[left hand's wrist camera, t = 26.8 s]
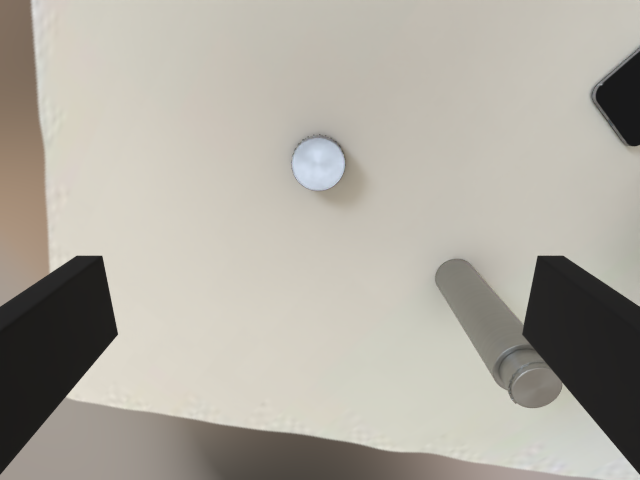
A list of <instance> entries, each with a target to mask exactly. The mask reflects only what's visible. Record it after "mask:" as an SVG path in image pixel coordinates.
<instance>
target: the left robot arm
mask: <svg viewBox="0 0 640 480" xmlns="http://www.w3.org/2000/svg"><path fill="white" fill-rule="evenodd" d="M117 335H118V332H117V327H116V322H115V317H114V312H113V307H112V302H111V297H110V292H109V287H108V282H107V277H106V272H105V267H104V262H103V257H102V256H76V257H74V258H73V259H71V260H70V261H68V262H67V263H65V264H64V265H62V266H61V267H59V268H58V269H56V270H55V271H53V272H52V273H50V274H49V275H47V276H46V277H44V278H43V279H41V280H40V281H38V282H37V283H35V284H34V285H32V286H31V287H29V288H28V289H26V290H25V291H23V292H22V293H20V294H19V295H17V296H16V297H14V298H13V299H11V300H10V301H8V302H7V303H5V304H4V305H2V306H1V307H0V474H1V473H2V472H3V471H4V470H5V468H6V467H7V466H8V465H9V463H10V462H11V461H12V460H13V459H14V458H15V456H16V455H17V454H18V453H19V452H20V450H21V449H22V448H23V447H24V446H25V444H26V443H27V442H28V441H29V440H30V438H31V437H32V436H33V435H34V434H35V433H36V431H37V430H38V429H39V428H40V427H41V425H42V424H43V423H44V422H45V421H46V420H47V418H48V417H49V416H50V415H51V414H52V412H53V411H54V410H55V409H56V408H57V406H58V405H59V404H60V403H61V402H62V400H63V399H64V398H65V397H66V396H67V395H68V393H69V392H70V391H71V390H72V389H73V387H74V386H75V385H76V384H77V383H78V381H79V380H80V379H81V378H82V377H83V375H84V374H85V373H86V372H87V371H88V370H89V368H90V367H91V366H92V365H93V364H94V362H95V361H96V360H97V359H98V358H99V356H100V355H101V354H102V353H103V352H104V350H105V349H106V348H107V347H108V346H109V345H110V343H111V342H112V341H113V340H114V339H115V337H116V336H117ZM522 335H523V336H524V337H525V339H526V340H527V341H528V342H529V343H530V345H531V346H532V347H533V348H534V349H535V350H536V352H537V353H538V354H539V355H540V356H541V358H542V359H543V360H544V361H545V362H546V364H547V365H548V366H549V367H550V368H551V370H552V371H553V372H554V373H555V374H556V375H557V377H558V378H559V379H560V380H561V381H562V383H563V384H564V385H565V386H566V387H567V389H568V390H569V391H570V392H571V393H572V395H573V396H574V397H575V398H576V399H577V400H578V402H579V403H580V404H581V405H582V406H583V408H584V409H585V410H586V411H587V412H588V414H589V415H590V416H591V417H592V418H593V420H594V421H595V422H596V423H597V424H598V425H599V427H600V428H601V429H602V430H603V431H604V433H605V434H606V435H607V436H608V437H609V439H610V440H611V441H612V442H613V443H614V445H615V446H616V447H617V448H618V449H619V450H620V452H621V453H622V454H623V455H624V456H625V458H626V459H627V460H628V461H629V462H630V464H631V465H632V466H633V467H634V468H635V470H636V471H637V472H638V473H639V474H640V307H639V306H638V305H636V304H635V303H633V302H632V301H630V300H629V299H627V298H626V297H624V296H623V295H621V294H620V293H618V292H617V291H615V290H614V289H612V288H611V287H609V286H608V285H606V284H605V283H603V282H602V281H600V280H599V279H597V278H596V277H594V276H593V275H591V274H590V273H588V272H587V271H585V270H584V269H582V268H581V267H579V266H578V265H576V264H575V263H573V262H572V261H570V260H569V259H567V258H566V257H564V256H538V257H537V262H536V267H535V272H534V277H533V282H532V287H531V292H530V297H529V302H528V307H527V312H526V317H525V322H524V327H523V332H522Z"/></svg>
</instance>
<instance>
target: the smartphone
mask: <svg viewBox="0 0 640 480" xmlns="http://www.w3.org/2000/svg"><path fill="white" fill-rule="evenodd" d="M592 98H593V101H594V103H595V104H596V105H597V107H598V108H599V110H600V111H601V112H602V114H603V115H604V116H605V118H606V119H607V121H608V122H609V123H610V125H611V126H612V127H613V129H614V130H615V132H616V133H617V134H618V136H619V137H620V139H621V140H622V141H623V143H625V144H626V145H629V146H638V145H640V48H639V49H638V50H637V51H636V52H635V53H634V54H632V55H631V56H630V57H629V58H628V59H627V60H625V61H624V62H623V63H622V64H621V65H620V66H618V67H617V68H616V69H615V70H614V71H613V72H612V73H610V74H609V75H608V76H607V77H606V78H605V79H603V80H602V81H601V82H600V83H599V84H598V85H597V86H596V87H595V89H594V91H593V94H592Z"/></svg>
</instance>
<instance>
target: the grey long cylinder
mask: <svg viewBox="0 0 640 480" xmlns="http://www.w3.org/2000/svg"><path fill="white" fill-rule="evenodd" d="M435 280H436V284H437V286H438V288H439V290H440V291H441V293H442V295H443V296H444V298H445V299H446V301H447V303H448V304H449V306H450V308H451V309H452V311H453V313H454V314H455V316H456V317H457V319H458V321H459V322H460V324H461V326H462V327H463V329H464V331H465V332H466V334H467V335H468V337H469V339H470V340H471V342H472V344H473V345H474V347H475V349H476V350H477V352H478V353H479V355H480V357H481V358H482V360H483V362H484V363H485V365H486V367H487V368H488V370H489V371H490V373H491V375H492V376H493V378H494V380H495V381H496V383H497V384H498V385H499V386H500V387H502V388H504V389H506V390H508V393H509V395H510V398H511V399H512V401H513V402H515V403H518V404H519V405H521V406H523V407H527V408H538V407H542V406H545V405H547V404H549V403H551V402H552V401H553V400H555V399H556V398H557V396H558V395H559V394H560V392H561V389H562V381H561V380H560V379H559V378H558V377H557V375H556V374H555V373H554V372H553V371H552V370H551V368H550V367H549V366H548V365H547V364H546V362H545V361H544V360H543V359H542V358H541V356H540V355H539V354H538V353H537V352H536V350H535V349H534V348H533V347H532V346H531V345H530V343H529V342H528V341H527V340H526V339H525V337H524V336H523V335H522V332H523V327H524V325H523V324H522V322H521V321H520V320H519V319H518V318H517V317H516V316H515V314H514V313H513V312H512V311H511V310H510V309H509V308H508V307H507V305H506V304H505V303H504V302H503V301H502V300H501V299H500V297H499V296H498V295H497V294H496V293H495V292H494V291H493V290H492V288H491V287H490V286H489V285H488V284H487V283H486V282H485V280H484V279H483V278H482V277H481V276H480V275H479V274H478V273H477V271H476V270H475V269H474V268H473V267H472V266H471V265H470V264H469V263H468V262H467V261H464V260H461V259H453V260H449V261H447V262H445V263H444V264H442V265H441V266H440V268H439V269H438V271H437V273H436V277H435Z"/></svg>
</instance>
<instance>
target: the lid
mask: <svg viewBox="0 0 640 480" xmlns="http://www.w3.org/2000/svg"><path fill="white" fill-rule="evenodd" d="M343 154H344V153H343V151H342V150H341V147H340V145H338V144H337V142H336V141H334V140H332V138H329V137H327V136H326V135H325V136H323V135H320V134H319V135H313V136H310V137H309V136H308V137H307V138H306V139H303V140H302V142H301V143H299V144H298V146H297V148H295V150H294V153H293V155H292V157H293V158H292V161H291V163H292V171H293V174H294V176H295V178H296V180H297V181H298V182H299V183H300V184H301V185H302V186H304V187H305V188H307V189H310V190H314V191H323V190H327V189H329V188H331V187H333V186H334V185H336V184H337V183H338V182H339V180H340V179H341V177H342V175H343V173H344V169H345V157H344V156H343Z"/></svg>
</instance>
